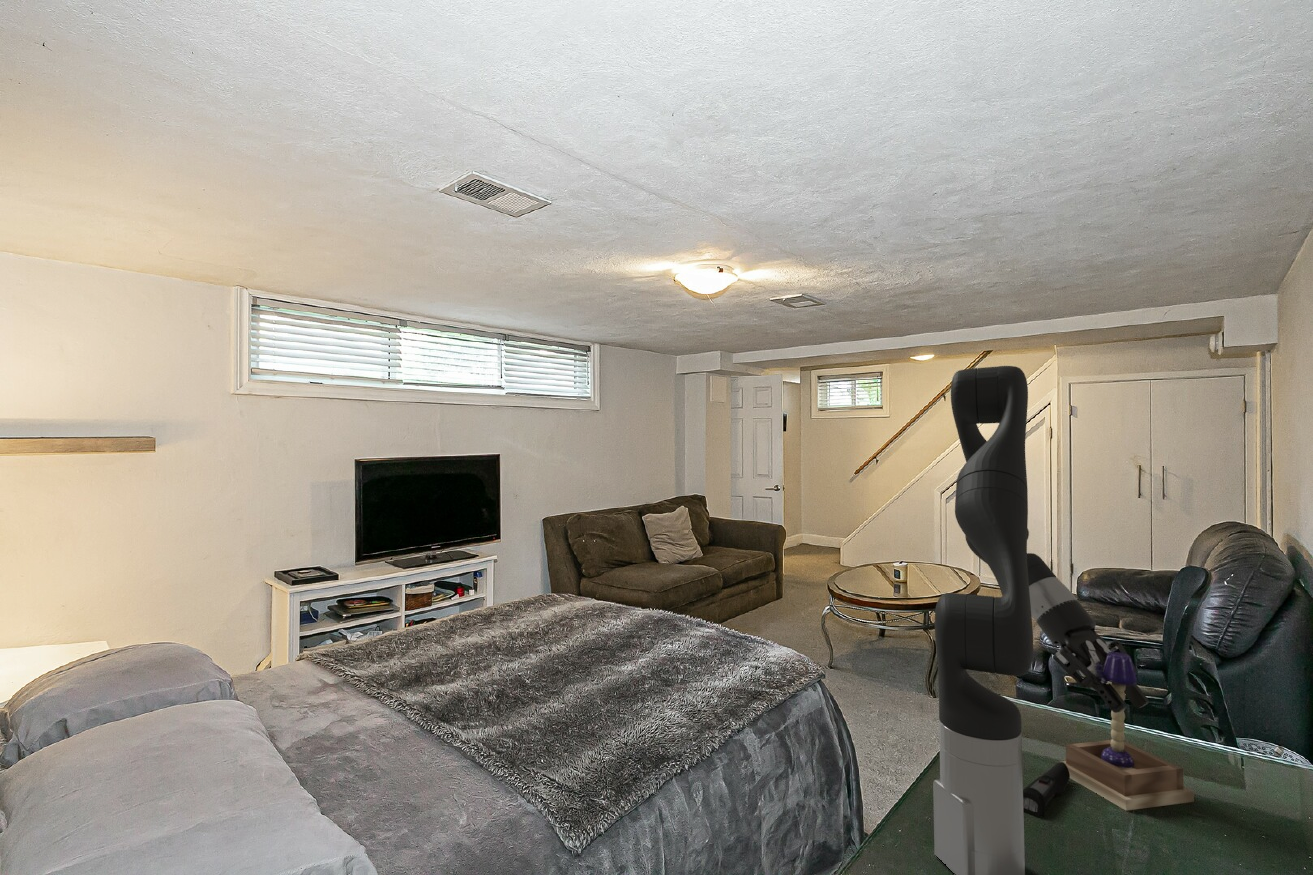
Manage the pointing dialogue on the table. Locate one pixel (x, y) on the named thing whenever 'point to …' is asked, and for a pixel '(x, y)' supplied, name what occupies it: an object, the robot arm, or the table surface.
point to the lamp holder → (1127, 776)
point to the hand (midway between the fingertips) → (1132, 707)
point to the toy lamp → (1121, 674)
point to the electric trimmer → (1045, 789)
